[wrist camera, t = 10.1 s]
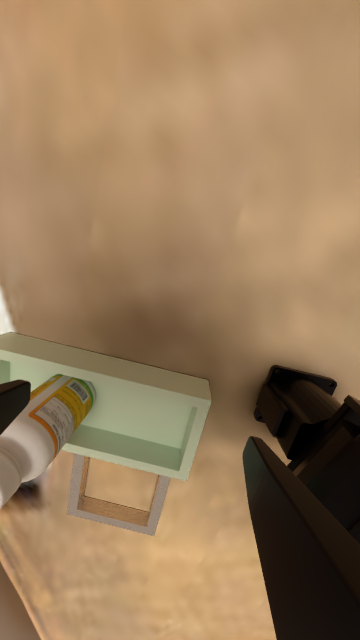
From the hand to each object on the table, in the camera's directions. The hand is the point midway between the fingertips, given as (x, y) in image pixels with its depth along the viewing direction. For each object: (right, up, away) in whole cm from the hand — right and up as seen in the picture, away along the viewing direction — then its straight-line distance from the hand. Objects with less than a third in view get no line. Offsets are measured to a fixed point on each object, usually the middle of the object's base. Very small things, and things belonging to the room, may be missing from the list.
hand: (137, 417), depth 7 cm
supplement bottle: (-10, -4, +13) cm, 17 cm away
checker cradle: (-6, -16, +16) cm, 24 cm away
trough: (-7, -4, +14) cm, 16 cm away
